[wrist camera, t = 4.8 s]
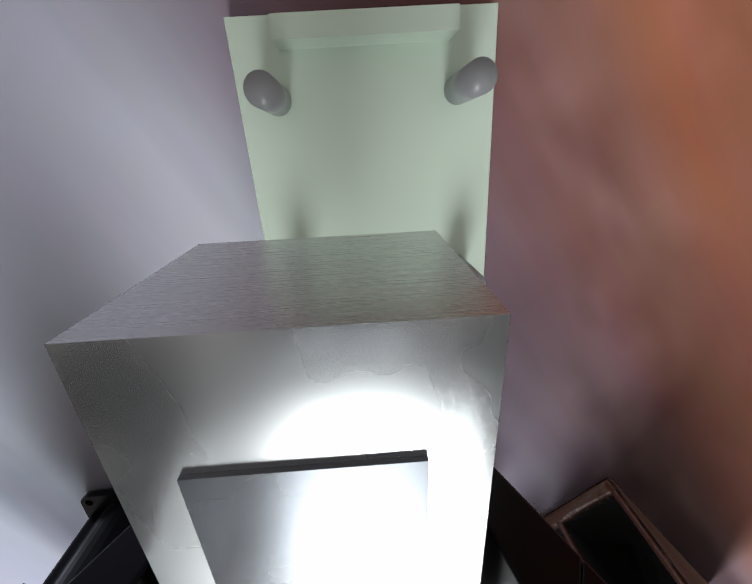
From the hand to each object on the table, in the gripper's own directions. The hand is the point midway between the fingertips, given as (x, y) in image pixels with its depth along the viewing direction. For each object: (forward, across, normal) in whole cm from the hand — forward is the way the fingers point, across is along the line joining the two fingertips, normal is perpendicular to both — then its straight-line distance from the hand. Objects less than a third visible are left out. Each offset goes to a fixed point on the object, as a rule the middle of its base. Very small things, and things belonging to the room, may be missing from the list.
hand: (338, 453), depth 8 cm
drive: (+1, 0, 0) cm, 1 cm away
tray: (+12, -2, -5) cm, 13 cm away
